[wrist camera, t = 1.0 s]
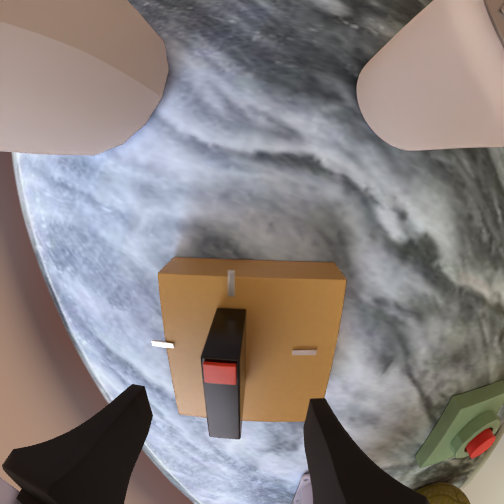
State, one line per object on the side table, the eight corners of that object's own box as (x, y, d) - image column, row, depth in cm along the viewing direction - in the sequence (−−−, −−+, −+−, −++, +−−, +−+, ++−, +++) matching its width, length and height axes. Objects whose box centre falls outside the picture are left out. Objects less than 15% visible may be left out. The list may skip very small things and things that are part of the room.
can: (405, 172, 15) (565, 192, 4) (332, 95, 14) (439, -12, 3) (454, 113, 14) (590, 93, 2) (390, 41, 13) (495, -47, 1)
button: (480, 443, 19) (485, 452, 17) (460, 451, 19) (465, 461, 17) (494, 423, 18) (500, 433, 16) (474, 432, 18) (480, 442, 16)
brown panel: (313, 394, 20) (318, 422, 17) (177, 387, 21) (167, 414, 18) (335, 256, 17) (349, 274, 14) (160, 250, 17) (141, 266, 14)
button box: (465, 439, 23) (476, 458, 19) (414, 456, 24) (423, 479, 20) (502, 379, 20) (519, 398, 16) (452, 396, 21) (468, 420, 17)
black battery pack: (245, 385, 16) (239, 443, 12) (220, 383, 16) (208, 440, 12) (246, 308, 15) (239, 363, 10) (216, 306, 15) (198, 360, 10)
